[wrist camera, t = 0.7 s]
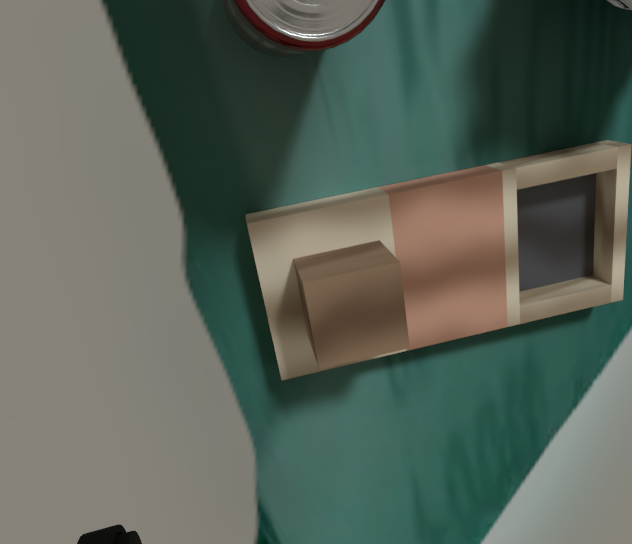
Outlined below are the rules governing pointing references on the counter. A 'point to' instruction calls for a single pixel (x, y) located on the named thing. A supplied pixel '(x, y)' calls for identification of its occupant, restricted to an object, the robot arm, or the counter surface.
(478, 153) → the counter surface
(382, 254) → the walnut block
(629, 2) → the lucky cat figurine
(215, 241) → the counter surface
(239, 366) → the counter surface
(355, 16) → the soda can
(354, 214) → the trap deck
